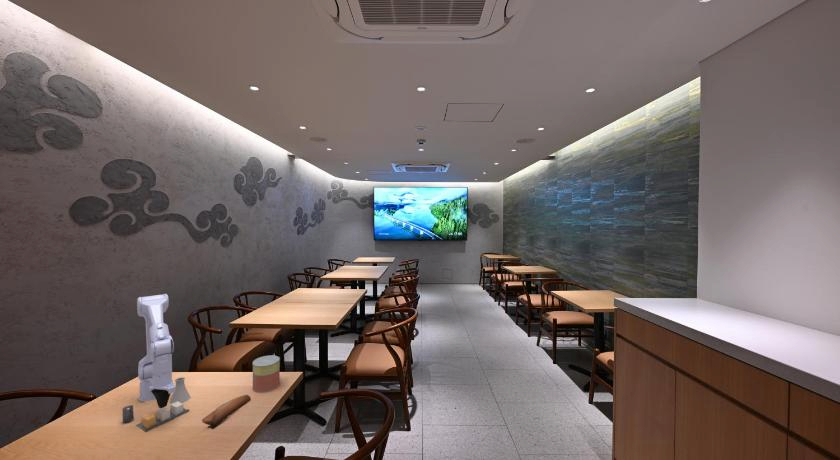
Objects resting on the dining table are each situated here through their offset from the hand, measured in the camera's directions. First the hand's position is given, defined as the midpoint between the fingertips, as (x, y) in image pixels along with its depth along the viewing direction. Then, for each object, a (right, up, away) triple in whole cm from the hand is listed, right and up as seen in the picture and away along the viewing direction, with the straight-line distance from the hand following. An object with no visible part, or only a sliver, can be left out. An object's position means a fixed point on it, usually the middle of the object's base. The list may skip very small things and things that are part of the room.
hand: (162, 406), depth 120 cm
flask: (-3, -5, +12) cm, 14 cm away
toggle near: (+2, -4, +4) cm, 6 cm away
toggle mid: (0, -4, 0) cm, 4 cm away
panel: (0, -5, 0) cm, 5 cm away
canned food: (+27, -5, +26) cm, 37 cm away
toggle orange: (-2, -5, -4) cm, 6 cm away
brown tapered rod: (+20, -6, +5) cm, 22 cm away
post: (-12, -5, -2) cm, 13 cm away
